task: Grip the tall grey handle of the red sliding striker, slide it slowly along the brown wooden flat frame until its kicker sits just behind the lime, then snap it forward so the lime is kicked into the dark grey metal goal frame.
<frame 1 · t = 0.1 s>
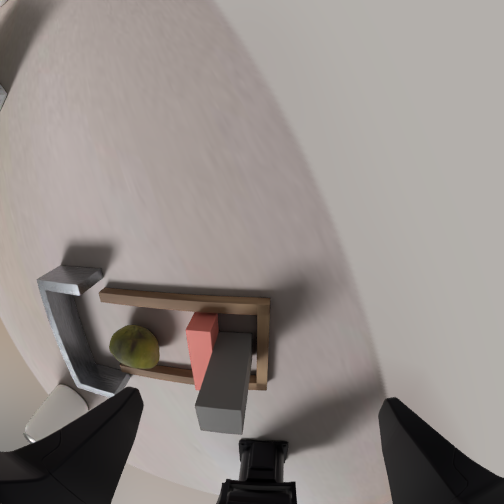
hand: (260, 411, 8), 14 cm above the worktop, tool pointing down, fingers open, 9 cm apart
brown wooden flat frame: (184, 339, 25), on the worktop
lime: (144, 333, 26), on the worktop
striker: (216, 377, 20), point 5 cm above the worktop, slide at 0.0 cm
goal: (94, 326, 26), on the worktop
can: (73, 397, 32), on the worktop
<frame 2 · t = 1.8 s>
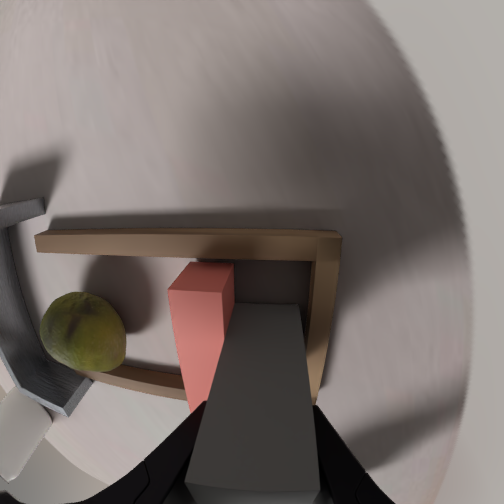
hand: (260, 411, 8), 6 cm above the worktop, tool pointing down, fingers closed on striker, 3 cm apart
brown wooden flat frame: (171, 320, 14), on the worktop
lime: (105, 310, 14), on the worktop
striker: (233, 395, 9), point 5 cm above the worktop, slide at 0.0 cm, touching gripper
goal: (37, 299, 15), on the worktop
can: (34, 404, 20), on the worktop
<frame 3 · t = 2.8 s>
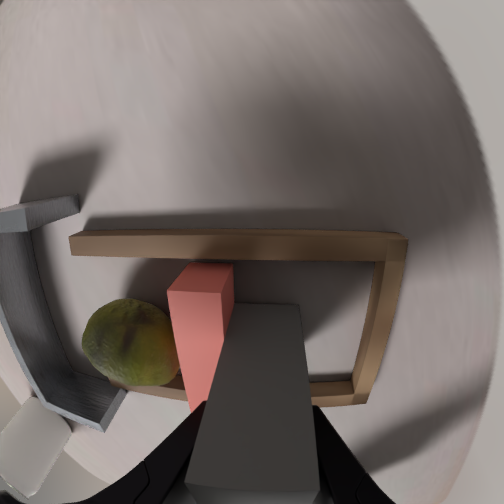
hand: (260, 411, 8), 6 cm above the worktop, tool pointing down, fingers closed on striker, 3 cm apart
brown wooden flat frame: (229, 325, 14), on the worktop
lime: (150, 317, 14), on the worktop
striker: (233, 395, 9), point 5 cm above the worktop, slide at 3.1 cm, touching gripper
goal: (65, 307, 14), on the worktop
can: (52, 414, 20), on the worktop
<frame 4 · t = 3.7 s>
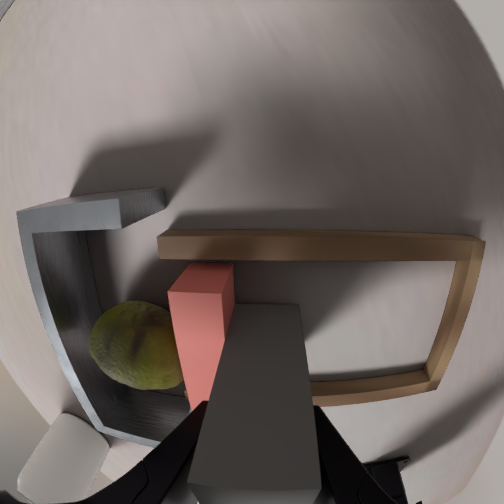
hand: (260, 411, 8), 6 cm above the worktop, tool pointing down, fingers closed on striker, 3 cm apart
brown wooden flat frame: (332, 326, 13), on the worktop
lime: (157, 318, 14), on the worktop, touching striker
striker: (235, 395, 9), point 5 cm above the worktop, slide at 8.4 cm, touching gripper, lime
goal: (130, 318, 14), on the worktop
can: (85, 430, 20), on the worktop
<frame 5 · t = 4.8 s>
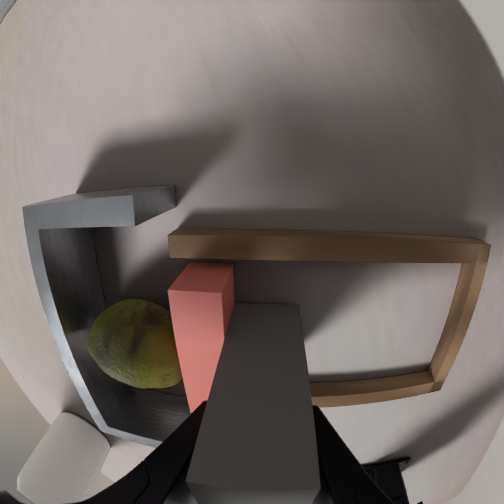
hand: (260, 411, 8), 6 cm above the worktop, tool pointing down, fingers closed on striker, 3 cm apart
brown wooden flat frame: (340, 327, 13), on the worktop
lime: (156, 317, 14), on the worktop, touching striker
striker: (233, 395, 9), point 5 cm above the worktop, slide at 8.9 cm, touching gripper, lime
goal: (136, 317, 14), on the worktop
can: (86, 429, 20), on the worktop
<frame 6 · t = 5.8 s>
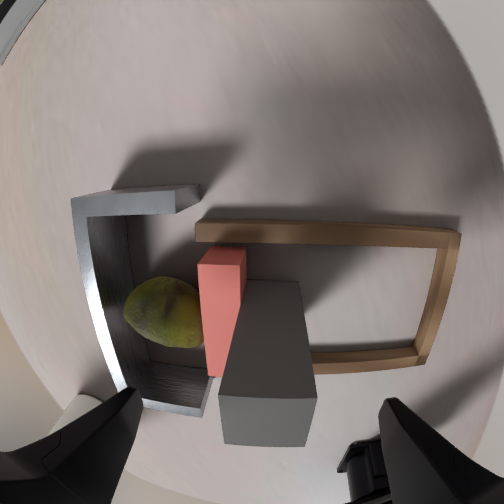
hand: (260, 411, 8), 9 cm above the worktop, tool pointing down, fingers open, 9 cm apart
brown wooden flat frame: (333, 302, 16), on the worktop
lime: (179, 294, 17), on the worktop
striker: (248, 347, 12), point 5 cm above the worktop, slide at 8.9 cm
goal: (161, 295, 17), on the worktop
tea box: (11, 15, 10), on the worktop
can: (100, 411, 23), on the worktop
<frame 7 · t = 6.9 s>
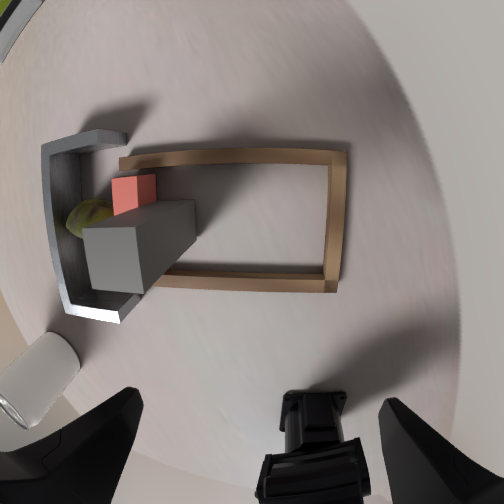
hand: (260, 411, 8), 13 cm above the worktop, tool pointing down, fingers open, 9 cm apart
brown wooden flat frame: (228, 219, 20), on the worktop
lime: (113, 220, 21), on the worktop
striker: (136, 235, 15), point 5 cm above the worktop, slide at 8.9 cm
goal: (101, 221, 20), on the worktop
tea box: (9, 23, 13), on the worktop
can: (63, 351, 26), on the worktop
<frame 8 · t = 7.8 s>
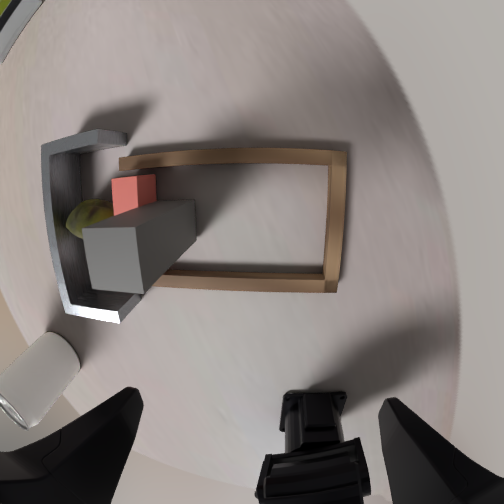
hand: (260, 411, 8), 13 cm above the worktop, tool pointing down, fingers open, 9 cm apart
brown wooden flat frame: (228, 219, 20), on the worktop
lime: (113, 220, 21), on the worktop
striker: (136, 235, 15), point 5 cm above the worktop, slide at 8.9 cm
goal: (101, 221, 20), on the worktop
tea box: (9, 23, 13), on the worktop
can: (63, 351, 26), on the worktop
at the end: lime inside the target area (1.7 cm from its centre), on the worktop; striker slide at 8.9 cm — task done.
